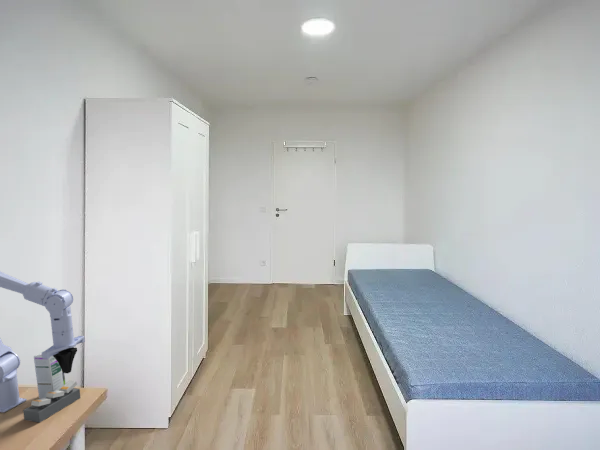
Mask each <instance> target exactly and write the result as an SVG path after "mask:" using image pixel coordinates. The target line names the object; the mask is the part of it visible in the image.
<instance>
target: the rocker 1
mask: <svg viewBox="0 0 600 450" xmlns="http://www.w3.org/2000/svg"><path fill="white" fill-rule="evenodd" d="M50 401H51V399H47V398H42V399H40V398H39V399H34V400H31V403H30V404H31V405H30V406H32V405H33V406H42V405H46V404H49V403H50Z"/></svg>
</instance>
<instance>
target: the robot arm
mask: <svg viewBox="0 0 600 450" xmlns="http://www.w3.org/2000/svg"><path fill="white" fill-rule="evenodd" d="M0 288H2V289H5V290H8V291H11V292H15V293H18V294H22V297H23V298H24V300H26V301H29V302H31V303H34V304H37V305H39V306H42V307H44V308H45V309H46V310H47V312H48V313H49V318H50V326H51V334H52V346H50V347H48V348H47V349H45V350H44V352H43V351H42V359H49V358H50V357H51V356H53V357H54V358H55V359H56V360H57V361H58V363H59V365H60V367H61V369H62V372H63V373H64V374H70V373H71V372H72V368H73V363H74V359H75V357H76V354H77V352H78V348H77V347H76V346H77V345H79V344H83V343H85V342H86V338H85V335H78V336H76V337H74V329H73V318H72V316H73V315H72V309H71V305H72V304H73V302H74V296H73V294H72V293H71V292H70V291H69V290H67V289H60V290H58V288H56V287H53V288H52V287H50V286H47V285H44V284H43V282H42V281H33V282H30V283H28V282H25V281H23V280H21V279H19V278H16V277H14V276H12V275H9V274H8V273H5V272H3V271H1V270H0ZM20 365H21V359H20V356H19V355H18V354H17V353H16V352H15V351H13V349H12V347H11V346H8V345H6V344H4V343H3V341H2V339H1V338H0V413H6V412H8V411H9V410H11V409H13V408H15V407H17V406H19V405H20V404H23V403H25V402H26V401H28V399H27V398H22V397H20V391H19V383H18V375H17V373H18V368H19V367H20Z"/></svg>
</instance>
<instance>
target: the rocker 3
mask: <svg viewBox="0 0 600 450" xmlns="http://www.w3.org/2000/svg"><path fill="white" fill-rule="evenodd" d="M76 386H78V383H77V381H76V380H68V381H67V382H65V385H64V386H63V387H61V388H60V391H64V393H69V392H70V391H71V390H72V389H73V388H75V387H76Z"/></svg>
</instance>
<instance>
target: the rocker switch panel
mask: <svg viewBox="0 0 600 450" xmlns="http://www.w3.org/2000/svg"><path fill="white" fill-rule="evenodd" d="M59 391H60V390H59ZM46 398H47V399H51V401H50V403H49V404H46V405H42V406H33V405H30V406H28V407H26V408H25V409H23V410H22V412H23V421H29V422H33V423H34V422H35V423H42V422H43V421H45V420H47V419H48V418H50V417H52V416H53V415H55V414H56V413H58V412H60V411H61V410H63V409H65V408H66V407H68V406H69V405H71V404H73V403H75V402H76V401H78V400H80V399H81V390H80V388H75V387H74V388H73V389H72V390H71V391H70V392H69V393H64V396H60V397H56V398H49V397H46Z"/></svg>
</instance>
